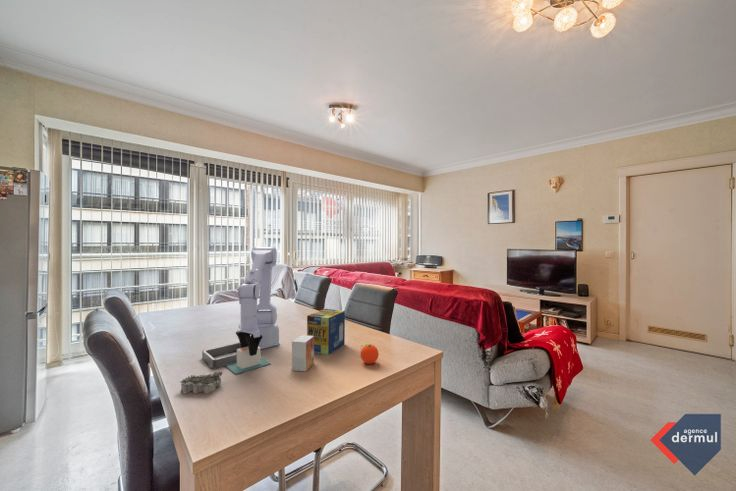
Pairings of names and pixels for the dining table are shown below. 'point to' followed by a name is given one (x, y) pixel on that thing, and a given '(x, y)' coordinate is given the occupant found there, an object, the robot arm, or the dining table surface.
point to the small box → (302, 353)
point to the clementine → (369, 353)
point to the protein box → (327, 330)
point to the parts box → (247, 358)
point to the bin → (223, 361)
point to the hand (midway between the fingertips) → (248, 352)
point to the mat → (237, 370)
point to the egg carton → (201, 383)
